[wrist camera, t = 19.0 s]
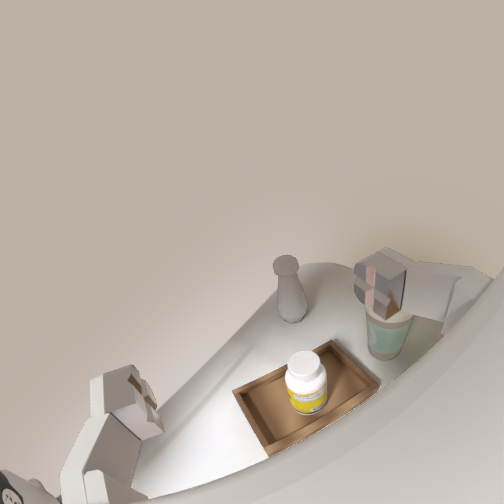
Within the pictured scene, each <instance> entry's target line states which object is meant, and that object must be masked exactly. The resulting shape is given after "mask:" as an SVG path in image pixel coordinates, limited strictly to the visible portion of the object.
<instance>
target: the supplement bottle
mask: <svg viewBox="0 0 504 504" xmlns="http://www.w3.org/2000/svg"><path fill="white" fill-rule="evenodd" d="M285 382H286V387H287V391H288V395H289V399H290V403H291V406H292V408H293V409H294V410H295V411H296V412H297V413H299V414H302V415H313V414H316V413H318V412H320V411H321V410H322V409H323V408H324V407H325V405H326V403H327V374H326V369H325V367H324V366H323V365H322V364H321V363H320V358H319V357H318V355H317V354H316V353H314V352H312V351H308V350H303V351H299V352H296V353H294V354H293V355H292V356H291V357H290V358H289V360H288V369H287V371H286V374H285Z"/></svg>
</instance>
